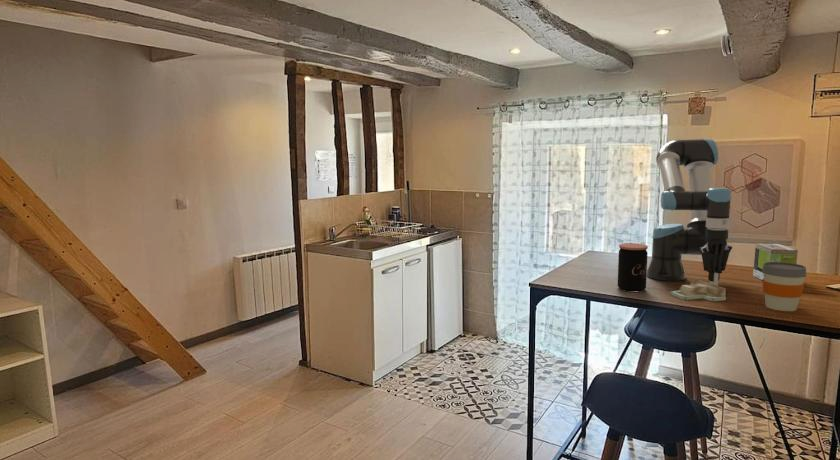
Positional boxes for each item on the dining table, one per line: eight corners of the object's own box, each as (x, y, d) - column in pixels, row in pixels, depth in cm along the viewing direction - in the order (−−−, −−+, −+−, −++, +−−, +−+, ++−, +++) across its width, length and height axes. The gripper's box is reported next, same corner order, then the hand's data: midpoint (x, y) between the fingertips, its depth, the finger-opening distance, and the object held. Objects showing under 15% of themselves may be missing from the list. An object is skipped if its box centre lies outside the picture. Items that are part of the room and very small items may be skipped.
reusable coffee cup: (764, 311, 175) (768, 268, 173) (755, 301, 186) (758, 261, 184) (808, 314, 170) (812, 270, 168) (796, 303, 182) (800, 262, 180)
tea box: (795, 285, 207) (798, 249, 204) (768, 284, 209) (770, 249, 206) (777, 276, 221) (780, 243, 219) (752, 275, 223) (754, 242, 221)
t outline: (692, 288, 205) (692, 285, 204) (725, 300, 188) (726, 297, 188) (661, 291, 202) (661, 288, 201) (693, 303, 185) (693, 300, 185)
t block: (699, 289, 203) (699, 280, 202) (725, 298, 190) (725, 288, 190) (672, 292, 200) (673, 282, 200) (697, 301, 188) (698, 290, 187)
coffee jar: (633, 294, 199) (635, 248, 196) (611, 288, 208) (613, 244, 206) (651, 290, 204) (653, 246, 201) (629, 284, 213) (631, 242, 210)
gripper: (710, 231, 188) (706, 292, 192) (739, 229, 191) (735, 290, 194) (694, 228, 195) (691, 287, 199) (723, 226, 198) (719, 285, 202)
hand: (713, 289), depth 197 cm, fingers closed
